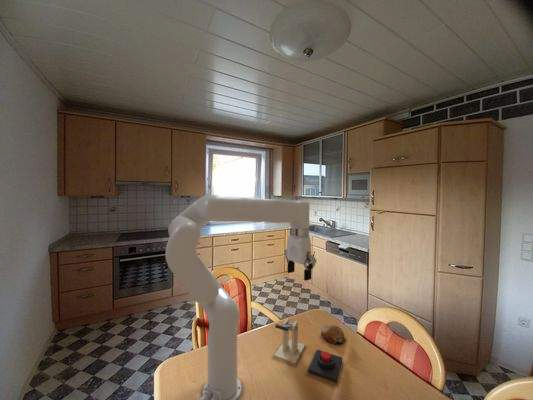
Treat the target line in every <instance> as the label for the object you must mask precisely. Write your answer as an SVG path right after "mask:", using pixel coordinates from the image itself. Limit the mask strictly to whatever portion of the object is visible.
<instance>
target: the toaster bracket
mask: <svg viewBox="0 0 533 400" xmlns="http://www.w3.org/2000/svg"><path fill="white" fill-rule="evenodd" d="M287 323H290V319H289V318H288V317H287V318H285V320H284V321H283V322H282V326H284V325H287ZM305 347H306V344H305V343H301V342H299V321H298V320H295V321H294V322H293V325H292V331H291V339H290V330H288V331H285V330H282V343H281V344H280V345H279V347H278V348H277V351H276V352H275V353H274V355H273V356H274V357H275V358H278V359H281V360H284V361H287V362H289V363H293V364H296V363H297V361H298V360H299V358H300V356H301V354H302V352H303V351H304V348H305Z"/></svg>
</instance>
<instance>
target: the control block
mask: <svg viewBox="0 0 533 400" xmlns="http://www.w3.org/2000/svg"><path fill="white" fill-rule="evenodd" d="M322 352H324V351H323V350H320V349H316V350H315V352H314V355H313V357H312V359H311V361H310V364H309V366H308V369H307V373H309V374H311V375H313V376H317V377H320V378H322V379H325V380H327V381H330V382H333V383H335V386H337V385H338V381H339V377H340V373H341V369H342V364H343V357H342V356H338V355H335V354H332V353H330V355H331V361H330V362H327V363H326V362H323V361H322V360H321V353H322Z"/></svg>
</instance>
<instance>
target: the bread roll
mask: <svg viewBox="0 0 533 400" xmlns="http://www.w3.org/2000/svg"><path fill="white" fill-rule="evenodd" d="M320 335H321V337H322V339H323V340H324V341H325V343H327V344H329V345H334V346H335V345H337V346H339V345H340V344H342V343H343V342H344V341H345V334H344V330H343V329H342V328H341V327H340V326H339V325H337V324H334V323H329V324H325V325H324V326H323V327H322V329H321V333H320Z"/></svg>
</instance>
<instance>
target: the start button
mask: <svg viewBox="0 0 533 400" xmlns="http://www.w3.org/2000/svg"><path fill="white" fill-rule="evenodd" d="M330 354H331V353H330V352H329V351H323V352H322V353H321V360H322V361H323V362H326V363H327V362H330V361H331V355H330Z"/></svg>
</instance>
